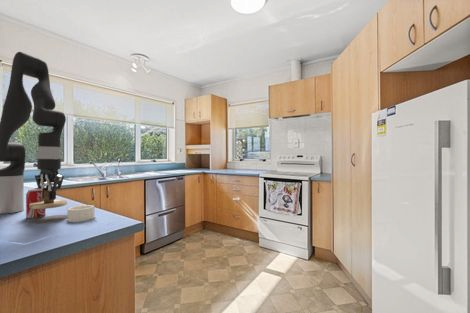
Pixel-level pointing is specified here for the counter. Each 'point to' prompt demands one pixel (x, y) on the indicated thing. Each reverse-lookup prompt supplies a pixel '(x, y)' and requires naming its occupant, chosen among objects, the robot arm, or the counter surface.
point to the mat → (48, 219)
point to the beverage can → (33, 197)
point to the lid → (47, 202)
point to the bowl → (80, 213)
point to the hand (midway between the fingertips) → (49, 199)
